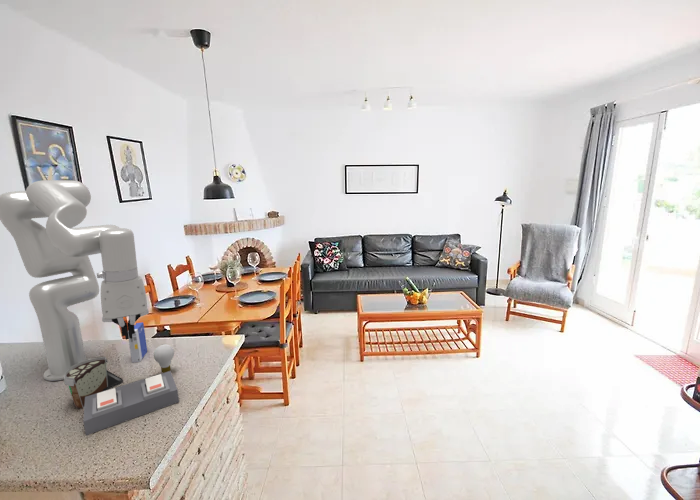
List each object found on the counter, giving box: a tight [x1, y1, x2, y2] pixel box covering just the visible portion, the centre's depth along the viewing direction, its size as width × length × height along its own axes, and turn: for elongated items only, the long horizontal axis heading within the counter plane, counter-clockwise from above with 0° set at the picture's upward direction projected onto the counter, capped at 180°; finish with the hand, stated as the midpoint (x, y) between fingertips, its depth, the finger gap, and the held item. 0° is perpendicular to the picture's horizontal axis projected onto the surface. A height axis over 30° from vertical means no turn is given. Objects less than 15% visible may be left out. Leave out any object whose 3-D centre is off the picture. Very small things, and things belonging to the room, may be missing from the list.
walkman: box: [128, 322, 148, 363], centre depth 118 cm, size 8×3×12 cm, turn 15°
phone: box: [103, 370, 124, 391], centre depth 104 cm, size 8×1×15 cm
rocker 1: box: [97, 387, 117, 411], centre depth 87 cm, size 6×4×1 cm
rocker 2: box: [144, 373, 165, 394], centre depth 93 cm, size 6×4×1 cm
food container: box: [63, 356, 109, 410], centre depth 95 cm, size 12×6×10 cm, turn 178°
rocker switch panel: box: [82, 370, 180, 436], centre depth 92 cm, size 12×21×5 cm, turn 127°
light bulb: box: [153, 343, 175, 374], centre depth 108 cm, size 6×6×10 cm
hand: (128, 337), depth 92 cm, fingers closed
